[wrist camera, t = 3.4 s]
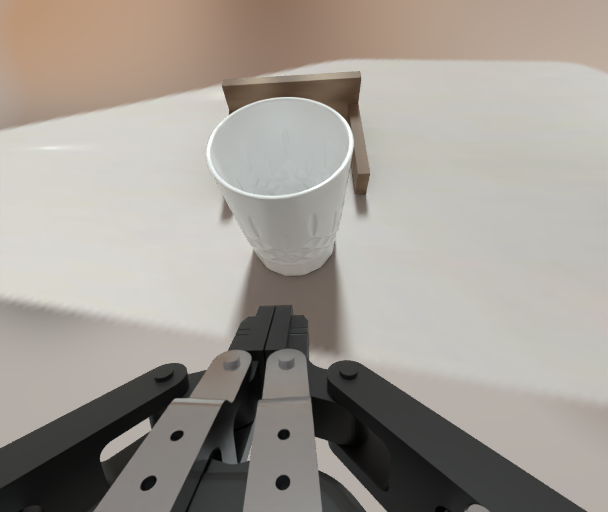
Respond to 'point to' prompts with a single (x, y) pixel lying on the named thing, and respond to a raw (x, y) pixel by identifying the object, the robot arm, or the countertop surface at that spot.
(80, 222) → the countertop surface
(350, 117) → the walnut bay
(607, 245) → the countertop surface
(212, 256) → the countertop surface
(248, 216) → the white cup
